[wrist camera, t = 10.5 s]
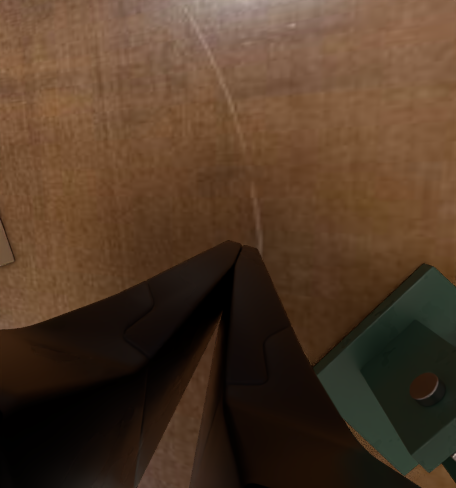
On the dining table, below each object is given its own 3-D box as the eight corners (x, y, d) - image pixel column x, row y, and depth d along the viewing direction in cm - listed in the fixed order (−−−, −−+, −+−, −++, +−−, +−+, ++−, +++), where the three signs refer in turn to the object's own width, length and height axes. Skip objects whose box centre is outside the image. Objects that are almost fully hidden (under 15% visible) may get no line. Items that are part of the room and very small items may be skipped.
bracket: (423, 262, 20) (532, 297, 12) (522, 355, 20) (700, 453, 12) (304, 375, 22) (329, 474, 13) (396, 462, 22) (478, 616, 13)
